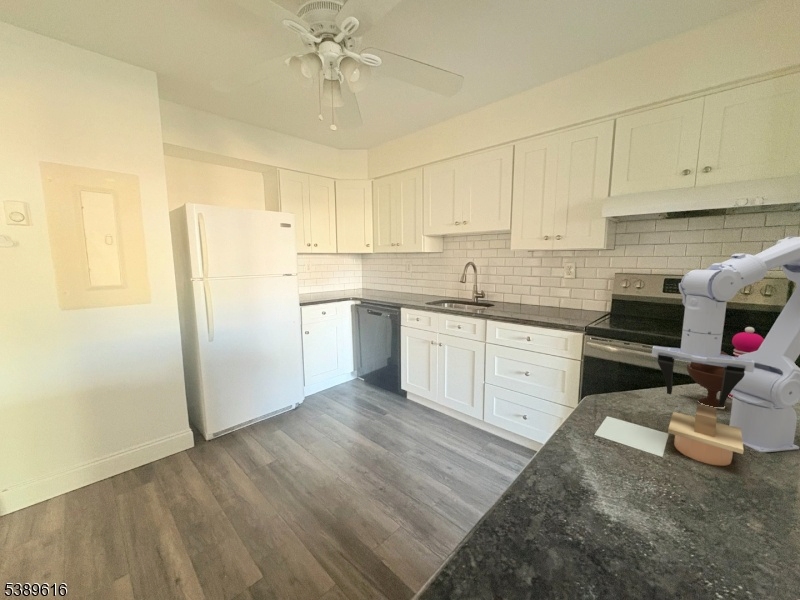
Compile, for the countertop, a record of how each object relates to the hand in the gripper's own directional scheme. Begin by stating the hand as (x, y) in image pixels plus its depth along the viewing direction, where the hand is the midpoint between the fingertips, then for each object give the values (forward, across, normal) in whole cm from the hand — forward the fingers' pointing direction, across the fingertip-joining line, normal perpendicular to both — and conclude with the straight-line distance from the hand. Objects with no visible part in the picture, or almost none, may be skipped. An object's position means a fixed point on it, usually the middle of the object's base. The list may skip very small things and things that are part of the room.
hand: (694, 398), depth 64 cm
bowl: (+10, +2, -2) cm, 11 cm away
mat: (+10, -9, -3) cm, 14 cm away
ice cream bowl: (+10, +4, +30) cm, 32 cm away
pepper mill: (+10, +10, +40) cm, 43 cm away
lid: (+6, +2, -2) cm, 6 cm away
